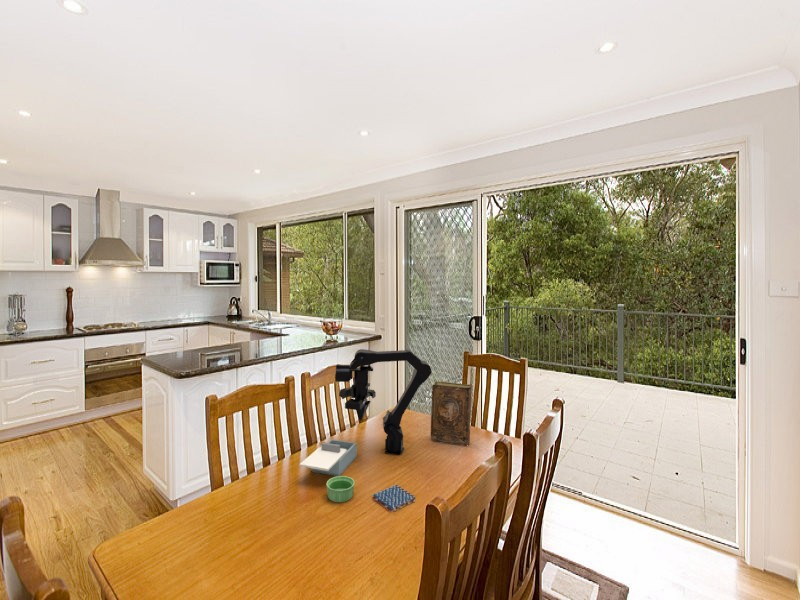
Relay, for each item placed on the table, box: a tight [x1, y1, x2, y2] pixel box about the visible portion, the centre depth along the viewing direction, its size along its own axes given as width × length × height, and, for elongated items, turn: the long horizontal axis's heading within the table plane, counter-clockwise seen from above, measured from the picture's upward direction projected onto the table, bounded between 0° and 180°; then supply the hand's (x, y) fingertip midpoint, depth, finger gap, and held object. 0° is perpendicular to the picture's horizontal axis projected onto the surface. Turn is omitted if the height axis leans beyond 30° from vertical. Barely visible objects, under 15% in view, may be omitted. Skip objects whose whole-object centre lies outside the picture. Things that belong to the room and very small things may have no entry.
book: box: [430, 381, 472, 447], centre depth 173 cm, size 16×6×25 cm, turn 73°
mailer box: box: [310, 438, 358, 477], centre depth 150 cm, size 16×11×6 cm
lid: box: [299, 442, 347, 471], centre depth 142 cm, size 16×11×3 cm
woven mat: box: [371, 484, 416, 514], centre depth 127 cm, size 10×11×2 cm
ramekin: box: [326, 475, 355, 503], centre depth 129 cm, size 9×9×4 cm
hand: (360, 420), depth 161 cm, fingers closed
